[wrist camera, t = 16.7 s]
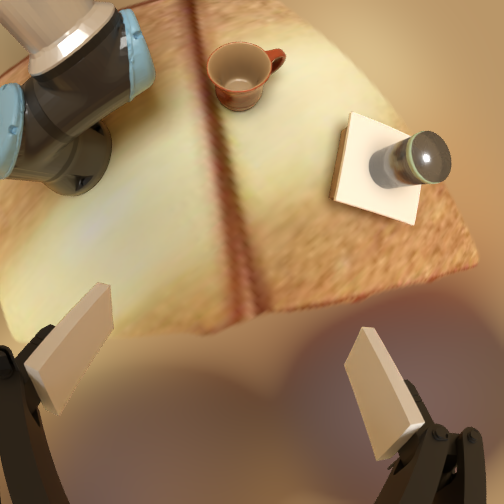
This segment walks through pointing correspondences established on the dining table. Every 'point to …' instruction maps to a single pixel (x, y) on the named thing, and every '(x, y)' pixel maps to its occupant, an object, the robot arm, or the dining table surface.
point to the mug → (242, 73)
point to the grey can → (411, 162)
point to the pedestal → (358, 176)
